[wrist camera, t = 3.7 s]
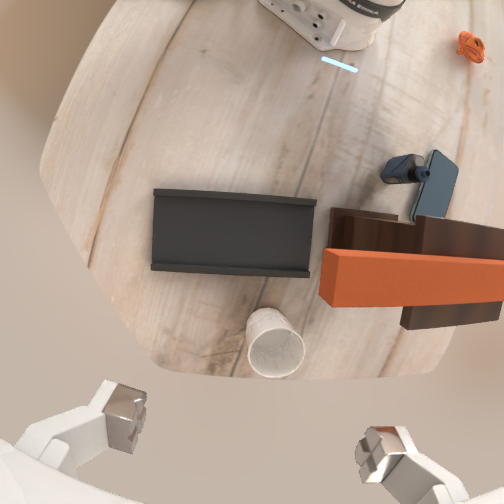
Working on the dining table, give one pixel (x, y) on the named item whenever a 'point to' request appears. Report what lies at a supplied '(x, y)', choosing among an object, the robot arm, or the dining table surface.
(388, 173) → the vaping device
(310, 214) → the seat base
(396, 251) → the wooden display pedestal
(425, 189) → the smartphone
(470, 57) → the pot
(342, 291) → the orange long block
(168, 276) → the dining table surface
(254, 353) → the white cup
